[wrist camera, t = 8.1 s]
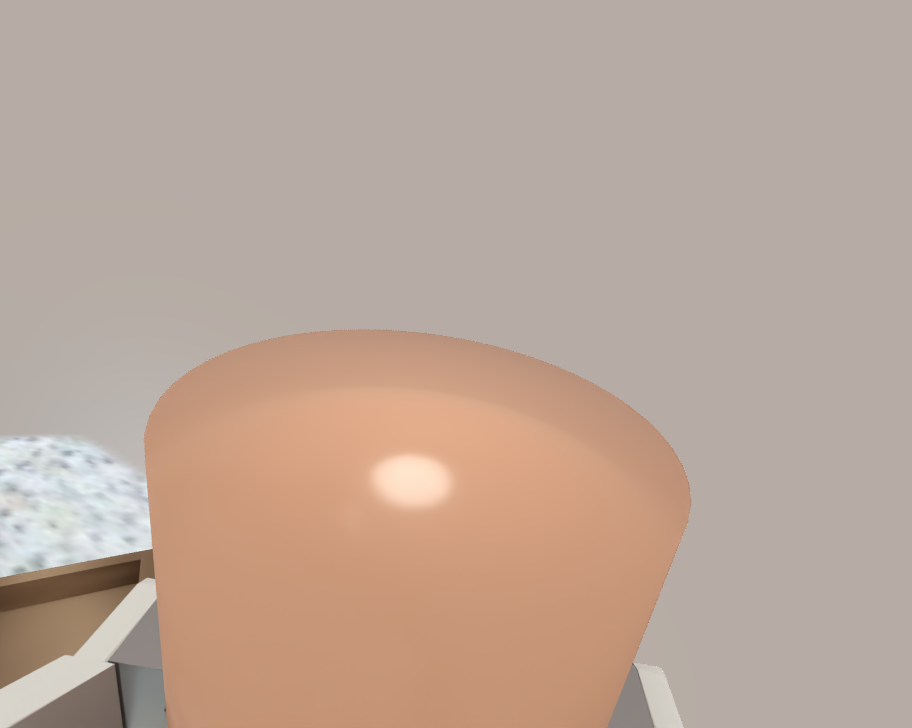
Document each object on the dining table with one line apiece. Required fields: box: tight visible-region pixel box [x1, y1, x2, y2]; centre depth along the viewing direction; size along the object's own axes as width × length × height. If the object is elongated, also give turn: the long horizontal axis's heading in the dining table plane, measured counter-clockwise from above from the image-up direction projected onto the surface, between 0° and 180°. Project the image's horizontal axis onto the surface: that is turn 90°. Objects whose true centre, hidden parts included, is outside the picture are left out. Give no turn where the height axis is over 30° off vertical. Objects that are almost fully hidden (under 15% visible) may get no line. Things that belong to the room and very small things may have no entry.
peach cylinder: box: [144, 330, 691, 728], centre depth 9 cm, size 6×6×12 cm
